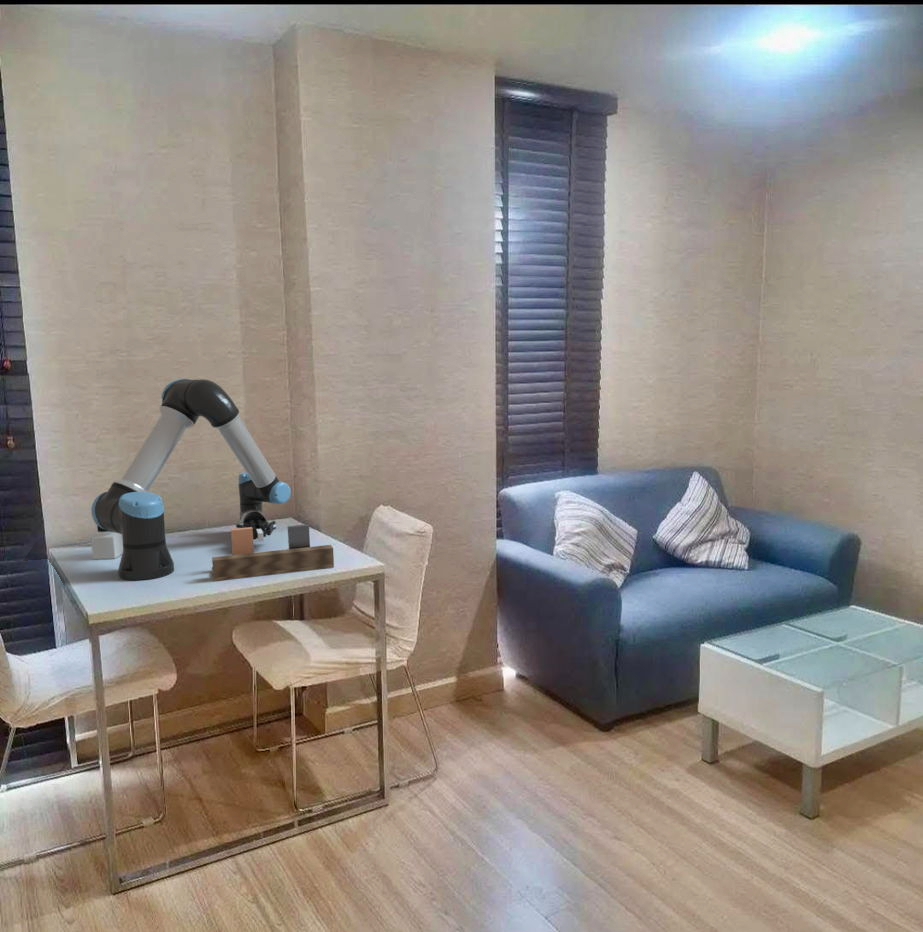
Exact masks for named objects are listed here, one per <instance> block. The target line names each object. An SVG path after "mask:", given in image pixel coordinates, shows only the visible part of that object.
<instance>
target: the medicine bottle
mask: <svg viewBox="0 0 923 932" xmlns="http://www.w3.org/2000/svg"><path fill="white" fill-rule="evenodd" d="M94 523H95V522H94ZM95 533H96V534H95V535H94V536H92V537H91V539H90V541H91V551H92V554H91V555H92V559H93V560H115V559H117V558H119V557H120V556H122V553H123V540H122V534H119V533H115V532H109V531H107V530H105V529H102V528H100V527H99V526H98V525H97V524H96V523H95Z"/></svg>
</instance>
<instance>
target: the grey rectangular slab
mask: <svg viewBox="0 0 923 932" xmlns="http://www.w3.org/2000/svg"><path fill="white" fill-rule="evenodd" d="M287 538H288V539H287V543H288V549H295V548H305V547H311V542H310V541H311V540H310V525H309V524H308V523H305V524H297V525H296V524H294V525H287Z"/></svg>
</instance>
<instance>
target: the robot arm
mask: <svg viewBox="0 0 923 932" xmlns="http://www.w3.org/2000/svg"><path fill="white" fill-rule="evenodd" d="M161 393H162V394H161V405H160V407H159V412H160V417H159V418H158V419H157V421H156V423H155V425H154V426H153V428H152V429H151V431H150V433H149V434H148V436H147V437H146V439H145V440H144V442H143V444H142V445H141V447H140V449H139V450H138V452H137V454H136V455H135V457H134V458H133V460H132V462H131V463H130V465H129V466H128V468H127V469H126V471H125V473H124V474H123V476H122V478H121V479H118V480H115V481H113V482H112V484H111V486H109V488H108V490H107V491H105V492H102V493H100V494H99V495H98V496H97V497H95V499H94V500H93V502H92V505H91V510H90V511H91V512H90V513H91V516H92V520H93V521H94V523H96V524H97V525H98V526H99V527H100V528H102V529H105V530H107V531H109V532H115V533H119V534H122V540H123V553H122V555H121V558H120V562H119V565H118V577H119V578H120V579H123V580H127V581H142V580H151V579H153V580H154V579H157V578H162V577H165V576H168V575H170V574H172V573H173V572H174V571H175V563H174V560H173V558H172V556H171V553H170V551H169V549H168V546H167V540H166V527H165V526H166V524H165V514H164V513H165V512H164V511H165V507H164V503H163V499H162V496H160V495H159V494H157V493H155V492H150V490H151V488H152V487H153V484H154V483H155V482H156V479H157V478H158V477H159V475H160V473H161V471H162V470H163V468H164V466H165V465H166V463H167V462H168V460H169V459H170V456H171V455H172V453H173V451H174V450H175V448H176V446H177V445H178V443H179V442H180V439H181V438H182V436H183V435H184V433H185V431H186V430H187V429H190V428H193V427H194V426H195V424H197V421H198V420H199V418H200V417H202V418H204V419H206V421H208V422H209V424H210V425H211V427H212V428H214V429H217V430H218V431H219V433H220V435H221V436H222V438H223V439H224V441H225V442H226V444H227V445H228V446H229V448H230V450H231V451H232V452H233V454H234V455H235V457H236V458H237V460H238V462H239V464H241V466H242V468H243V470H245V471H244V472H241V473H240V474H238V491H239V492H238V493H239V496H238V497H239V519H240V521H241V523H242V524H240V523H239V524H238V523H237V524H236V525H235V526H236V528H235V529H237V528H248V527H252V528H253V540H257V541H258V543H264V542H265V541H264V538H266V537H267V536H271V535H272V533H273V531H274V530H276V529H277V526H276V525H277V523H276V521H275V520H273V521H267V519H266V518H265V515H264V514H263V503H269V504H272V505H283V504H286V503H287V502H288V501H289V499H290V498H291V494H292V492H291V491H292V490H291V487H290V486H289V484H288V483H286V482H284V481H280V480H279V478H278V477H277V475H276V473H275V472H274V471H273V469H272V467H271V466H270V464H269V463H268V461H267V460H266V457H265V456H264V454H263V453H262V451H261V450H260V448H259V446H258V445H257V444H256V442H255V440H254V439H253V437H252V435H251V434H250V432H249V431H248V428H247V427H246V426H245V424H244V423H243V420H242V419H241V418H240V416H239V415H240V410H239V409H238V407H237V406H236V404H235V402H234V401H233V399H232V398H231V397H230V395H228V393H227V392H226V391H225V390H224V388H222V386H220V385H219V384H218V383H216V382H214V381H212V380H209V379H205V378H204V379H201V378H200V379H191V378H181V379H176V380H173V381H170V382H169V383H168V384H167V385H166V386H165V387H164V389H163V390H162V392H161Z"/></svg>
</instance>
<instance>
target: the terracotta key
mask: <svg viewBox="0 0 923 932" xmlns="http://www.w3.org/2000/svg"><path fill="white" fill-rule="evenodd" d="M230 536H231V537H230V538H231V550H232V551H231V553H232V554H231V555H239V554H248V553H255V547H254V539H253V528H252V527H248V528H237V529H236V528H230Z"/></svg>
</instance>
